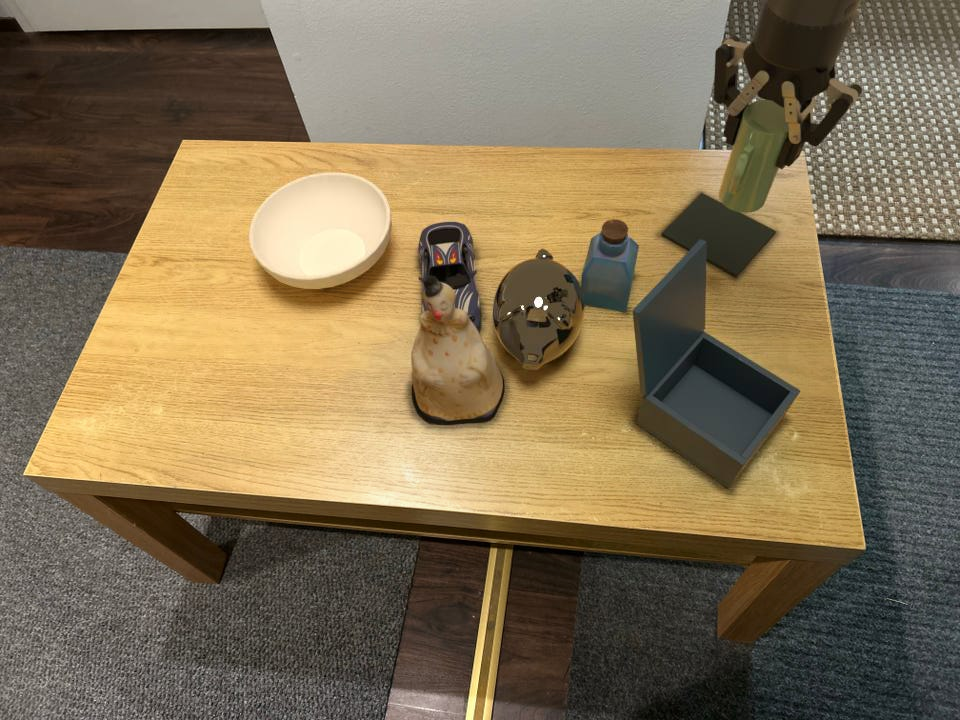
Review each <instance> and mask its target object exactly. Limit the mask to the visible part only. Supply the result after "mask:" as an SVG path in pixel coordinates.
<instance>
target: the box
mask: <svg viewBox="0 0 960 720" xmlns="http://www.w3.org/2000/svg"><path fill="white" fill-rule="evenodd" d="M800 393H801V389H799V388H797V387H795V386H794V385H793V384H790V383H789V382H787V381H786V380H784V379H782V378H781V377H779V376H777V375H776V374H774V373H772V372H771V371H769V370H767V369H766V368H765V367H763V366H761V365H759V364H758V363H756V362H755V361H753V360H752V359H750V358H748V357H746V356H745V355H744V354H741V353H740V352H738V351H737V350H735V349H734V348H732V347H730V346H729V345H727V344H725V343H724V342H722V341H721V340H719V339H717V338H715V337H714V336H712V335H711V334H709V333H707V332H706V331H705V330H704V331H703V332H702V333H701V334H700V335H699V336H698V337H697V339H696V340H695V341H694V342H693V343H692V344H691V345H690V346H689V348H688V349H687V350H686V351H685V352H684V353H683V354H682V356H681V357H680V358H679V359H678V360H677V361H676V362H675V363H674V365H673V366H672V367H671V368H670V369H669V370H668V371H667V373H666V374H665V375H664V376H663V377H662V378H661V379H660V380H659V382H658V383H657V384H656V385H655V386H654V387H653V388H652V389H651V391H650V392H649V393H648V394H647V395H644V394H643V395H642V397H641V398H642V399H641V402H640V406H639V410H638V413H637V418H636V422H635V424H636V425H637V426H639V427H641V428H642V429H643V430H645V431H646V432H647V433H649V434H650V435H652V437H654V438H656V439H657V440H659V441H660V442H662V443H663V444H664V445H666V446H667V447H668V448H670V449H672V451H674V452H675V453H677V454H679V455H680V456H682V457H683V458H684V459H686V460H687V461H688V462H690V463H691V464H693V466H695V467H697V468H698V469H700V470H701V471H702V472H703V473H705V474H706V475H708V476H710V477H711V478H712V479H713V480H715V481H717V482H718V483H720V484H721V485H722V486H724V487H725V488H726V489H730V488H731V486H732V485H733V484H734V482H735V481H736V480H737V479H738V477H739V476H740V475H741V473H742V472H743V471H744V469H745V468H746V467H747V466H748V465H749V463H750V461H751V460H752V459H753V458H754V456H755V455H756V454H757V452H758V451H759V450H760V449H761V447H762V446H763V445H764V443H765V442H766V441H767V440H768V438H769V437H770V436H771V435H772V433H773V432H774V431H775V429H776V428H777V427H778V425H779V424H780V423H781V421H782V420H783V418H784V417H785V416H786V414H787V412H788V411H789V410H790V408H791V407H792V405H793V404H794V402H795V400H796V399H797V397H798V396H799V394H800Z"/></svg>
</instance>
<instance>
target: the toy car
mask: <svg viewBox="0 0 960 720" xmlns="http://www.w3.org/2000/svg"><path fill="white" fill-rule="evenodd" d="M418 257H419V262H420V266H421V276H418V280H419V281H420V282H421V287H422V288H421V293H422V294H421V298H422V299H421V311H422V313H423V312H425V311H428V309H427V307H426V305H425V303H424V300H423V294H424V290H425V286H424V284H423V282H424V281H425V280H426V278H427V277H428V275H431V276H435V277H436V278H437V279H438V281H439V282H442V283H445V284H447V285H449V286H450V287H451V288H452V289H453V290H454V292H455V294H456V299H455V304H454V307H455V308H457V309H462V310H464V311H466V312H467V315H468V317H469V319H470V320H471V322H472V323H473V324H474V325H475V327H476V328H477V330H478V332H479V333H480V332H481V328H482V307H481V299H480V294H479V289H478V288H479V287H478V283H477V282H478V281H477V276H476V274H478V270H477V269H476V260H475V258H476V257H475V248H474V239H473V236H472V233H471V231H470V230H469V227H467V225H466V224H464V223H462V222H458V221H441V222H437V223H432V224H430V225H428V226H426V227H425V228H423V229H422V230H421V233H420V235H419V241H418Z"/></svg>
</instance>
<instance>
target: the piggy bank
mask: <svg viewBox="0 0 960 720" xmlns="http://www.w3.org/2000/svg"><path fill="white" fill-rule="evenodd" d="M584 315H585V305H584V296H583V292H582V289H581V283H580V282H579V280H578V278H577V277H576V276H575V274H574V273H573V272H572V271H571V270H570V269H569V268H568V267H567V266H566V265H564V264H563V263H561V262H559V261H557V260H554V256H553V254H552V253H551V252H549V250H548V249H545V248H541V249H539V250H537V252H536V254H535V256H534V258H528V259H525V260H523V261H520V262H519V263H517V264H515V265H514V266H513V267H512V268H510V269H509V270H508V271H507V272H505V275H504V276H503V277H502V278H501V280H500V282H499V283H498V285H497V288H496V291H495V293H494V298H493V301H492V322H493V327H494V331H495V334H496V336H497V339H498V341H499V342H500V344H501V345H502V347H503V349H504V350H506V351H507V353H508V354H509V355H511V356H512V357H513V358H514V359H515V360H517V362H518V363H519V365H520V366H521V368H523V369H524V370H528V371H537V370H540V368H542V367H543V366H544V365H546V364H548V363H550V362H553V361H554V360H556V359H559V358H561V356H562V355H563V354H564V353H566V352H567V350H569V349H570V348H571V346H573V344H574V342H575V341H576V339H577V337H578V336H579V333H580V330H581V328H582V325H583V322H584V321H583V320H584V317H585V316H584Z"/></svg>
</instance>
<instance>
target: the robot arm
mask: <svg viewBox="0 0 960 720" xmlns="http://www.w3.org/2000/svg"><path fill="white" fill-rule="evenodd" d="M861 3H862V0H763V2H762V5H761V9H760V12H759V15H758V19H757V23H756V25H755V28H754V32H753V36H752V41H750V43H748V42H741V39H740V38H739V36H737V35H731V36H729V37H728V38H727V39H726V40H725V41H724V42H722V43H721V44H720V46H718V47H717V48H716V50H715V51H714V52H715V53H714V79H713V80H714V81H713V101H714V102H715V103H716V104H719V105H722V104H723V105H724V106H725V107H726V108H727V113H728V115H727V118H726V121H725V126H724V129H723V137H725V138H726V140H725V144H726V145H729V146H731V147H733V144H734V141H735V138H736V135H737V132H738V128H739V125H740V122H741V119H742V116H743V112H744V110H745V108H746V107H747V106H748V105H749V104H751V103H752V101H753V99H755V97H756V96H757V97H758V98H760V99H761V100H771V101H773V102H775V103H776V104H777V105H779V106H781V107H783V108H784V111H785V122H786V123H788V131H789V137H788V138H787V139H786V141H785V144H784V146H783V149H782V151H781V154H780V156H779V159H778V161H777V164H776V167H778V168H779V169H780V170H784V169H785V168H786V167H788V168H790V167H791V166H792V165H793V164H794V163H795V162H796V161H797V160H798V159H799V158H800V156H801V153H802V151H803V149H804V146H805V144H806V143H808V144H809V145H810V146H812V147H818V146H820V145H821V144H822V142H823V141H825V139H826V138H827V137H828V136H829V134H831V132H832V131H833V130H834V129H835V128H836V126H837V125H839V123H840V122H841V120H842V119H843V117H844V116H845V115H846V114H847V112H848V111H849V110H850V109H851V107H852V106H853V105H854V103H855V102H856V101H857V100H858V98H860V96H861V95H862V93H863V88H862V86H861V85H859V84H857V83H852V84H851V85H850V86H848V85H846V84H845V83H843V82H842V81H840V80H839V79H837V78H836V75H837V73H836V62H837V59H838V57H839V54H840V52H841V50H842V48H843V46H844V43H845V40H846V38H847V36H848V34H849V31H850V29H851V26H852V24H853V21H854V19H855V17H856V14H857V11H858V9H859V7H860V4H861ZM742 61H743V62H744V65H745V68H746V70H747V74H748V76H749V77H748V78H749V80H750V81H749V82H748V83H747V85H746V86H745V87H744V88H743V89H742V90H739V88H738V81H739V66H740V65H739V64H740V63H741V62H742ZM823 92H825V93H826V94H827V98H826V101H825V104H826V110H828V111H827V112H826V114H825V115H824V117H823V118H822V120H821V121H820V122H819V123H815V122H814V108H815V106H816V96H818V95H820V94H822V93H823Z"/></svg>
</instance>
